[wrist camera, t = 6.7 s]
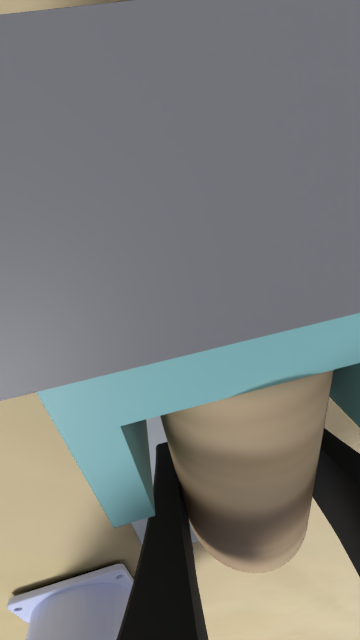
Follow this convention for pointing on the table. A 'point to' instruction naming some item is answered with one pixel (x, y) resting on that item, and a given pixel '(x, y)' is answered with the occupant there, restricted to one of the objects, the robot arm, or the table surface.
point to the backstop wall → (173, 180)
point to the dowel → (251, 470)
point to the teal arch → (188, 402)
